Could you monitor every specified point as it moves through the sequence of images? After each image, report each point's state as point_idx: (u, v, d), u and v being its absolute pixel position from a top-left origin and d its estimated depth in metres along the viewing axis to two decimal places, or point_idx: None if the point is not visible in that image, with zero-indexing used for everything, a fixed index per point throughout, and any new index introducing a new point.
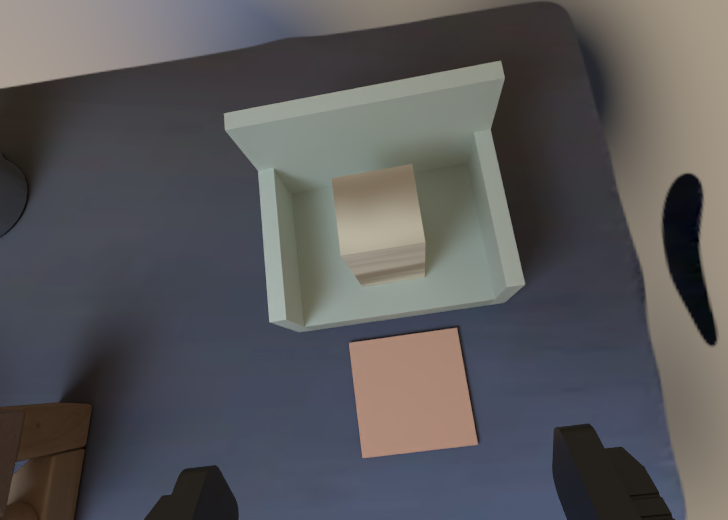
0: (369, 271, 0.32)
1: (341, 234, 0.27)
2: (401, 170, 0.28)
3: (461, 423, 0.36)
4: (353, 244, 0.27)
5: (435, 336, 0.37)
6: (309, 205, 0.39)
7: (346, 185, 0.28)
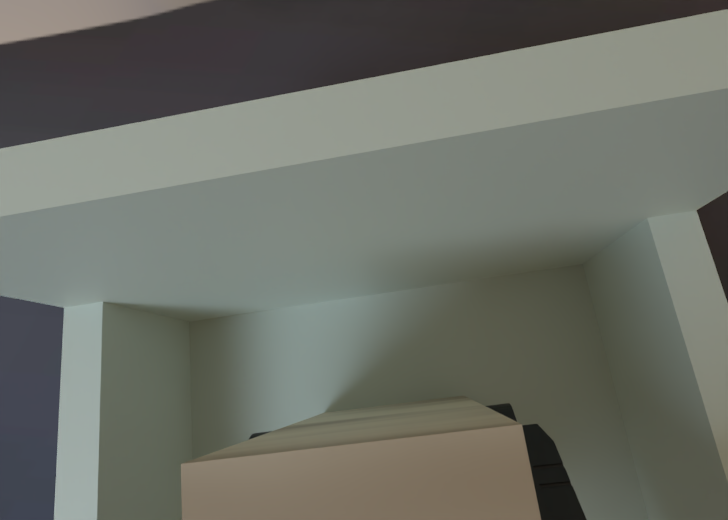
0: None
1: None
2: (473, 453, 0.06)
3: None
4: None
5: None
6: (224, 352, 0.17)
7: (238, 507, 0.07)
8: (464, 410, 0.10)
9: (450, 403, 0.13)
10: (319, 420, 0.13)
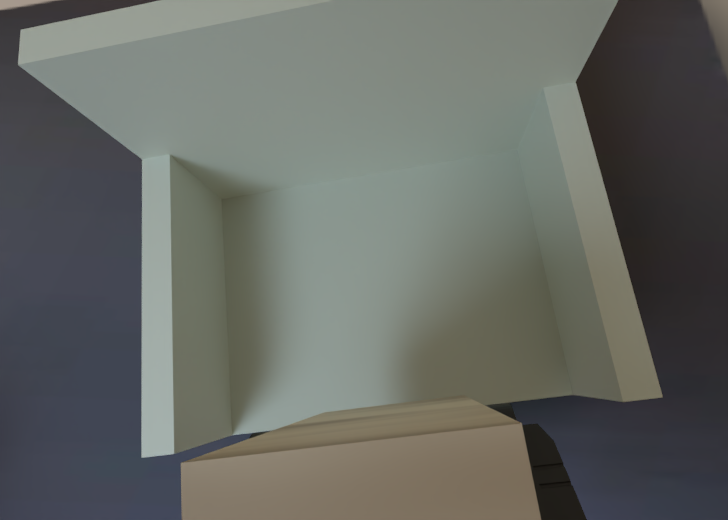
0: None
1: None
2: (473, 451, 0.06)
3: None
4: None
5: None
6: (248, 220, 0.23)
7: (238, 505, 0.07)
8: (464, 409, 0.10)
9: (450, 402, 0.13)
10: (319, 419, 0.13)
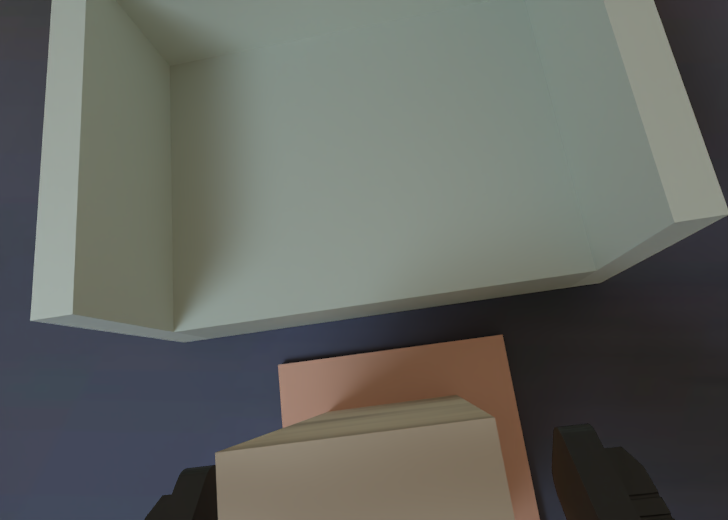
0: None
1: None
2: (456, 441, 0.08)
3: None
4: None
5: (457, 352, 0.18)
6: (201, 87, 0.19)
7: (264, 487, 0.08)
8: (453, 407, 0.11)
9: (442, 401, 0.14)
10: (325, 418, 0.14)
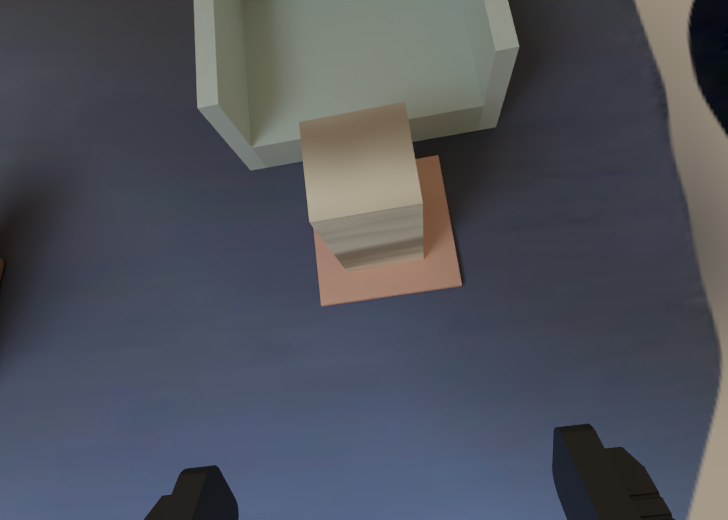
0: (352, 248, 0.25)
1: (310, 194, 0.20)
2: (390, 110, 0.21)
3: (442, 261, 0.29)
4: (326, 207, 0.20)
5: None
6: (261, 15, 0.32)
7: (318, 131, 0.21)
8: None
9: None
10: None
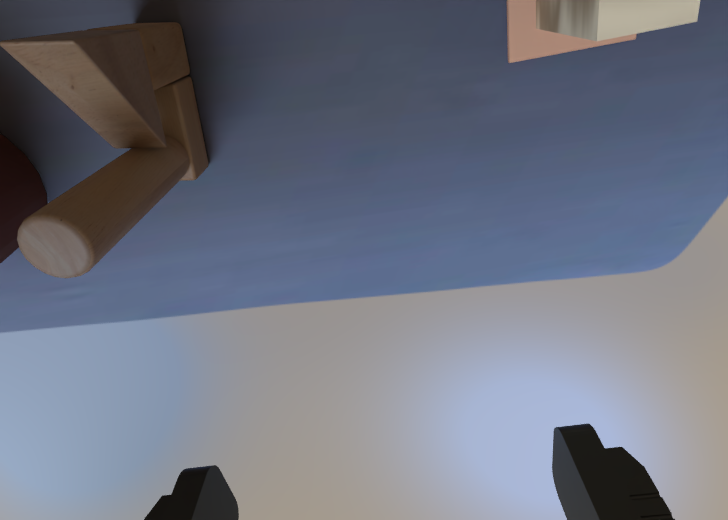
0: None
1: (602, 13, 0.23)
2: None
3: None
4: (614, 26, 0.24)
5: None
6: None
7: None
8: None
9: None
10: None
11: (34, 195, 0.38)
